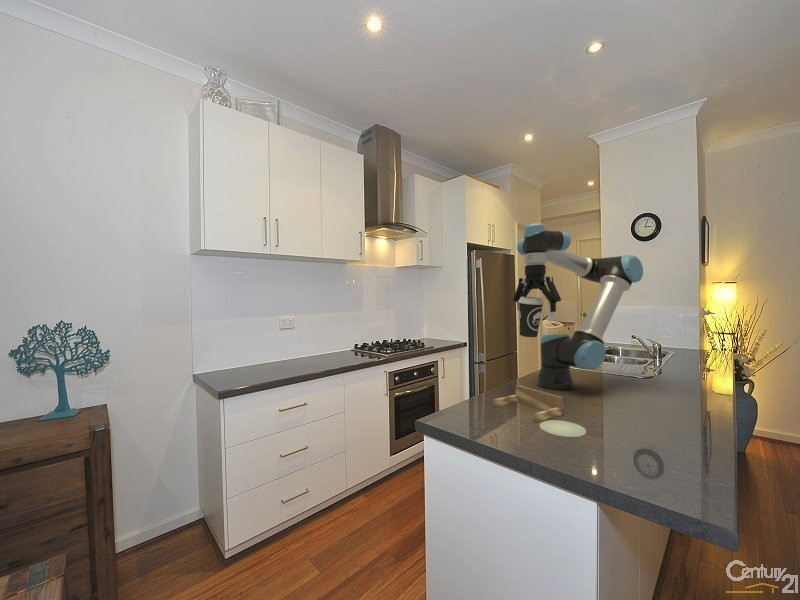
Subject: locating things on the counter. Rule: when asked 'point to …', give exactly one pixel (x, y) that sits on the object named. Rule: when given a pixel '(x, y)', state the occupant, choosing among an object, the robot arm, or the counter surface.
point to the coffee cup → (530, 315)
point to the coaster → (562, 428)
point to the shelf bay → (535, 402)
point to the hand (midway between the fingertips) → (535, 320)
